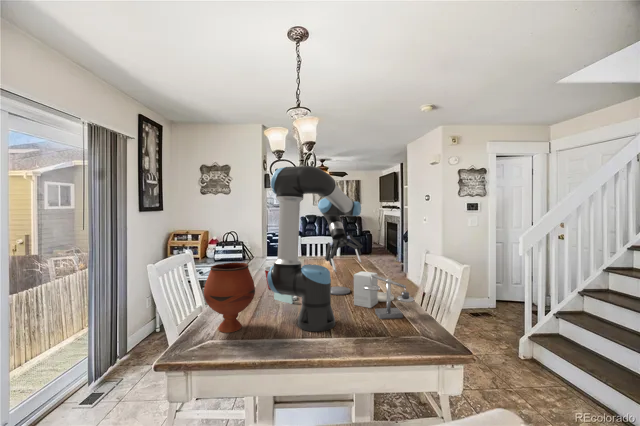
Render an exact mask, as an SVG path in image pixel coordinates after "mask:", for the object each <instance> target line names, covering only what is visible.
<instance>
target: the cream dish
mask: <svg viewBox="0 0 640 426" xmlns="http://www.w3.org/2000/svg"><path fill="white" fill-rule="evenodd" d="M394 300H395V295H394V294H392V293H391V302H392V301H394ZM379 302H381V303H382V302H384V303H387V302H386V292H385V291H382V292H381V291H378V303H379Z"/></svg>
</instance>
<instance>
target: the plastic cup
mask: <svg viewBox="0 0 640 426" xmlns="http://www.w3.org/2000/svg"><path fill="white" fill-rule="evenodd" d="M271 267H272V266H266V267H263V270H264V273H265V274H264V275H265V278H266V280H265V281H266V284H267V288H268V290H270V291H272V290H271V289H270V287H269V285H268V280H267V276H268V272H269V269H270V268H271Z"/></svg>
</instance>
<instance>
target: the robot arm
mask: <svg viewBox="0 0 640 426" xmlns="http://www.w3.org/2000/svg"><path fill="white" fill-rule="evenodd" d="M336 183H337V182H336V181H335V178H333V176H331V175H330V174H329V173H328V172H326V171H325V170H323V169H321V168H318V167H317V166H313V165H300V166H296V165H295V166H285V167H280V168H277V169H275V171H273V174H272V176H271V178H270V188H271V191H272V193H274V194H275V196H276V199H277V201H278V202H279V206H278V207H279V208H278V209H279V210H278V212H279V213H278V233H277V234H278V237H277V239H278V240H277V242H278V243H277V259H275V260H274V261H273V265H272V266H270V267H271V268H270V269H269V272H268V276H267V280H268V285H269V287H270V289H271V290H270V291H271V292H273V293H274V292H275V293H278V294H281V295H291V296H297V298H298V297H300V298H301V308H300V311H299V314H298V317H297V326H298V328H300V329H301V330H304V331H307V332H325V331H328V330H331V329H333V328H335V326H336V317H335V315H334V311H333V308H332V303H331V302H332V301H331V300H332V299H331V297H332V294H331V287H332V279H331V271H330V270H329V268H327V267H326V266H323V265H319V264H304V265H302V262H301V260H300V259H299V240H300V239H299V236H300V233H299V232H300V210H301V209H300V205H301V204H300V203H301V201H303V200H304V195H308V194H309V195H311V194H313V195H318V196H320V197H323V198H322V199H320V200H319V201H318V204H317V207H318V209H319V212H320V213H321V214H322V215H323V217H324V218H325V220H326V221H327V224H328V229H329V232H330V235H331V239H332V241H331V242H327V248H326V254H325V257H324V259H325V260H326V262H329V265H330V267H332V269H333V271H334V272H335V273H337V267H336V263H335V260H334V257H335V255H336V252H337V251H338V249H340V248H342V247H345V246H349V247H350V248H353V250H355V254H356V256H357V259H358V261H359V263H362V259H361V256H362V252H361V249H362V248H363V245H362V244H361V243H360V242H359V241H358V240H357V239H356V238H354V236H353V235H352V234H351V233H348V235H346V231H345V229H344V226H343V225H344V224H343V223H342V219H341V217H359V216H360V215H361V213H362V204H361V202H359V201H355V200H354V201H352V200H351V198H350V197H348V195H347V194H346V193H345V192H344V191H343V190H342V189H341V188H340V187H339V186H338V185H337V184H336ZM348 240H351V241H352V242H353V243H352V242H350V241H348ZM332 247H333V248H332ZM267 280H266V281H267ZM268 285H267V286H268Z"/></svg>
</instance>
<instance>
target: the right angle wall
mask: <svg viewBox="0 0 640 426" xmlns="http://www.w3.org/2000/svg"><path fill="white" fill-rule="evenodd" d="M273 300H276V301H279V302H283V303H287V304H291V305H293V303H294V302H295V301H298V296H291V295H281V294H278V293H275V292H273Z"/></svg>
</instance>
